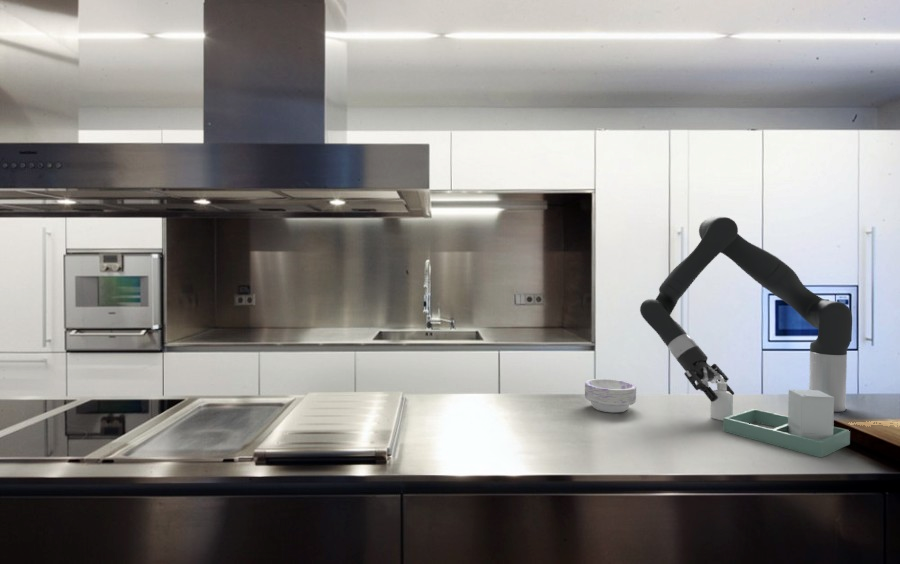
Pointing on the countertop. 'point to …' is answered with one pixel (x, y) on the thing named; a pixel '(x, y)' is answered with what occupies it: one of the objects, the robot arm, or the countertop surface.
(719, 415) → the eye dropper bottle
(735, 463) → the countertop surface
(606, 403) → the paper bowls
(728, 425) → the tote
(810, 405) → the supplement box
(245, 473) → the countertop surface
